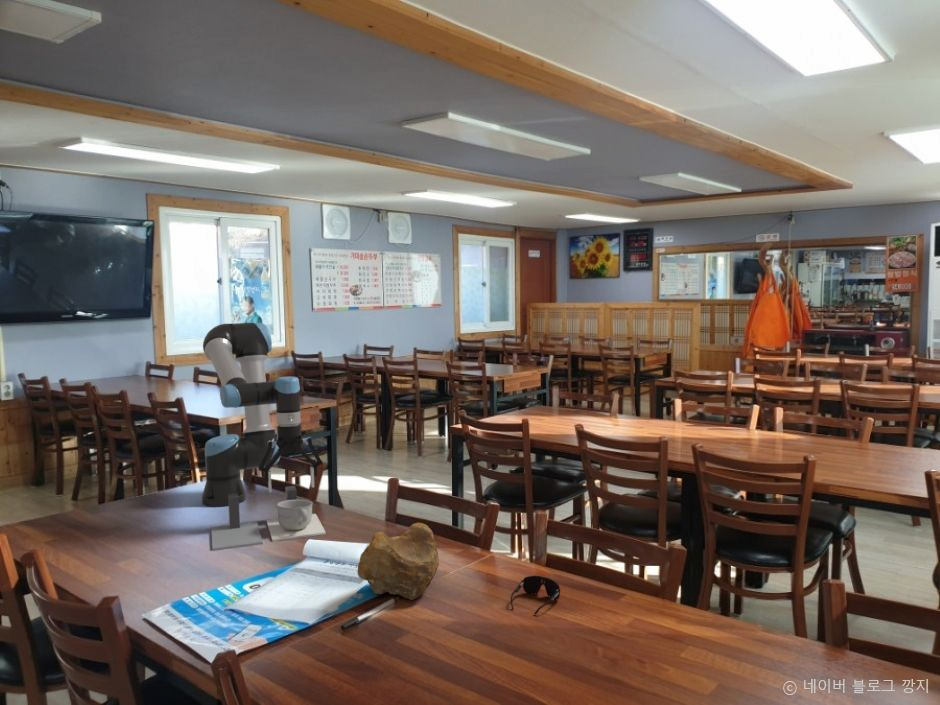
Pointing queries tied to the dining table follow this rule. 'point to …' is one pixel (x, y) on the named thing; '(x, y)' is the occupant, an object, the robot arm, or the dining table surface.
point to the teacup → (294, 514)
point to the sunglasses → (534, 585)
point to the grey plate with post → (283, 534)
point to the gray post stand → (235, 529)
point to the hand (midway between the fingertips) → (291, 488)
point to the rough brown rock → (400, 562)
